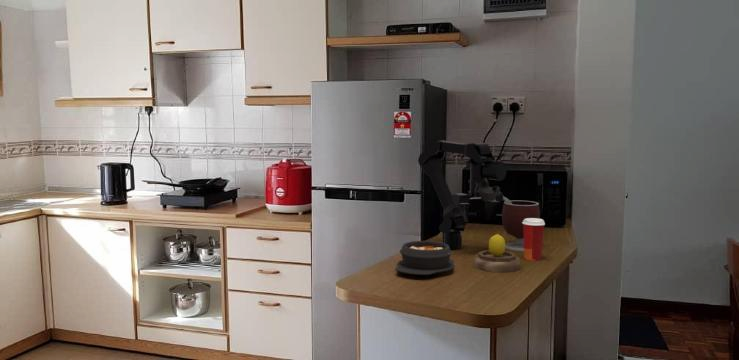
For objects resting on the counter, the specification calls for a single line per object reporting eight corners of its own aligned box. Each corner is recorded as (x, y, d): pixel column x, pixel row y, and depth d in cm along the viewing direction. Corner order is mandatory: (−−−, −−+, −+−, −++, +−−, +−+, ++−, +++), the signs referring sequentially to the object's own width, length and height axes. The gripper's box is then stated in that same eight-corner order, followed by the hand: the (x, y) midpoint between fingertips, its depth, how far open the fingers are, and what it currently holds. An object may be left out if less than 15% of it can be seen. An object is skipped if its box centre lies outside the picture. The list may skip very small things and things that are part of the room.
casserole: (437, 283, 190) (438, 256, 189) (382, 275, 199) (382, 249, 198) (465, 265, 212) (466, 241, 211) (415, 259, 221) (415, 235, 220)
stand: (465, 266, 210) (465, 254, 210) (488, 259, 222) (488, 247, 221) (505, 274, 201) (506, 261, 200) (527, 266, 212) (528, 253, 212)
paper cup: (544, 257, 225) (546, 218, 223) (543, 262, 217) (544, 222, 216) (522, 255, 227) (523, 217, 225) (519, 260, 220) (521, 220, 218)
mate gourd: (535, 243, 247) (537, 193, 245) (541, 251, 234) (543, 198, 231) (495, 242, 249) (496, 192, 247) (498, 250, 235) (500, 197, 233)
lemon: (486, 255, 213) (486, 232, 213) (502, 255, 214) (503, 232, 213) (490, 259, 208) (491, 235, 207) (507, 259, 208) (508, 235, 208)
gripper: (468, 181, 216) (467, 226, 217) (513, 179, 223) (512, 222, 225) (451, 178, 226) (450, 221, 227) (494, 176, 233) (493, 217, 235)
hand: (477, 220), depth 229 cm, fingers open, 9 cm apart
